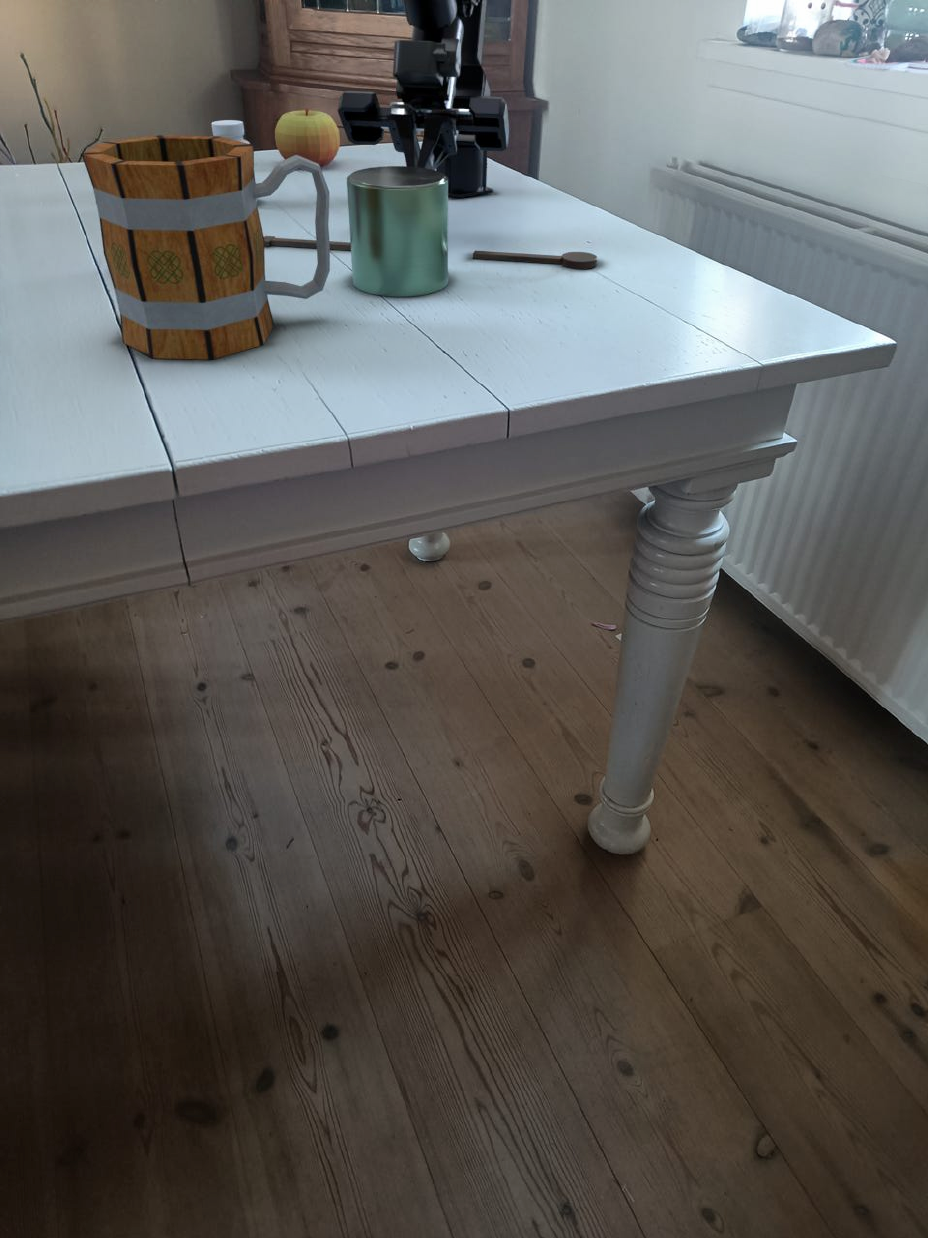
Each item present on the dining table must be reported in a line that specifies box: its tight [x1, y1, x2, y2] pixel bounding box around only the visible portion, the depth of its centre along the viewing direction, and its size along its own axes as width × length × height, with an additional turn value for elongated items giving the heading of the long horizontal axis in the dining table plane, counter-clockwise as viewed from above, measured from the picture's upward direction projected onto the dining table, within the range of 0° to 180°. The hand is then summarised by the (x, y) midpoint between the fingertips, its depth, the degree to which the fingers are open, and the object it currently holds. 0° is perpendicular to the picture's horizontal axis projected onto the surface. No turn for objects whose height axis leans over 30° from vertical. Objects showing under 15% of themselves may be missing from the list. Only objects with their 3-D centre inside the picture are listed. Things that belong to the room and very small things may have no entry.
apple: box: [274, 108, 341, 168], centre depth 139 cm, size 10×10×8 cm
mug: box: [81, 134, 331, 360], centre depth 78 cm, size 20×14×15 cm
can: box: [346, 165, 449, 298], centre depth 91 cm, size 10×10×10 cm
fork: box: [264, 235, 351, 252], centre depth 104 cm, size 15×2×1 cm, turn 80°
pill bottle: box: [211, 119, 259, 202], centre depth 117 cm, size 5×5×10 cm
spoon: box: [472, 249, 599, 270], centre depth 101 cm, size 14×4×1 cm, turn 80°
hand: (414, 190), depth 100 cm, fingers closed
